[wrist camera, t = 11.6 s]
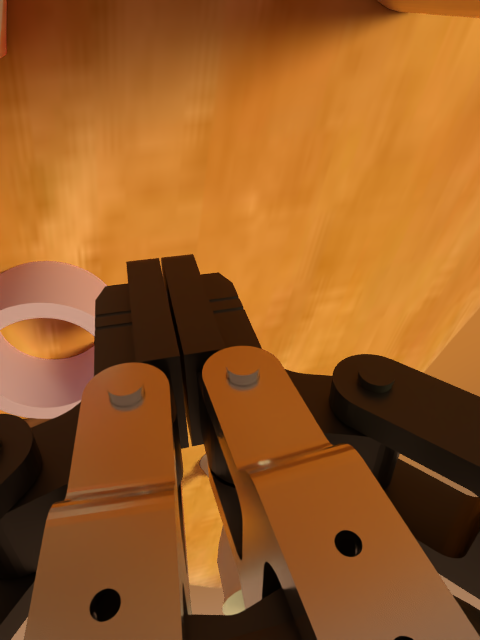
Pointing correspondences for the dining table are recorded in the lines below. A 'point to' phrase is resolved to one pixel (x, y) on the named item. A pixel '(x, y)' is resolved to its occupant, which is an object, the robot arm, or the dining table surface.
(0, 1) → the cracker box
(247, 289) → the dining table surface
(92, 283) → the clip
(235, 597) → the chalice
